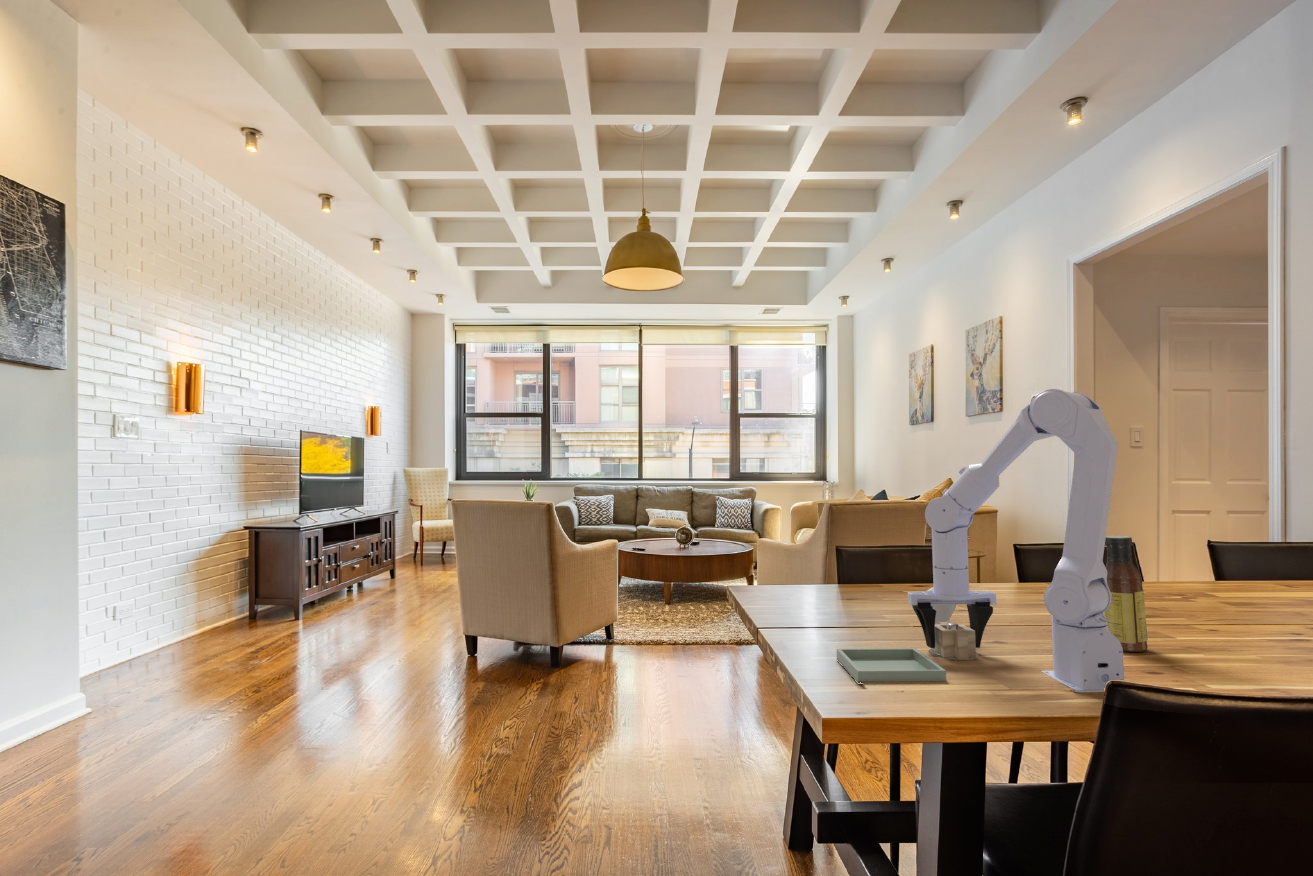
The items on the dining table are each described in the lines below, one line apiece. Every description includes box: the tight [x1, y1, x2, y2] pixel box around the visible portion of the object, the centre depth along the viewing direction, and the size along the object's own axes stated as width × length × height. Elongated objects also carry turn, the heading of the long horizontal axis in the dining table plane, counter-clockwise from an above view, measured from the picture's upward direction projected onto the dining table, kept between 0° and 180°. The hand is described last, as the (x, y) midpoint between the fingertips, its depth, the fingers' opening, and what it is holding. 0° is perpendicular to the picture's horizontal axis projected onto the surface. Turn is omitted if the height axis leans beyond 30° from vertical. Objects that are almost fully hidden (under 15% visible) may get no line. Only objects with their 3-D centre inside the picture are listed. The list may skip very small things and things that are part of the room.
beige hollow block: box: [931, 622, 977, 661], centre depth 119 cm, size 8×5×4 cm, turn 179°
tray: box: [836, 647, 947, 683], centre depth 111 cm, size 13×13×2 cm
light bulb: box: [926, 586, 957, 624], centre depth 130 cm, size 6×6×10 cm
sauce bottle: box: [1104, 535, 1149, 653], centre depth 123 cm, size 7×6×20 cm
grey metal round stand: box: [928, 622, 980, 660], centre depth 119 cm, size 8×8×6 cm
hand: (953, 646), depth 119 cm, fingers open, 7 cm apart
